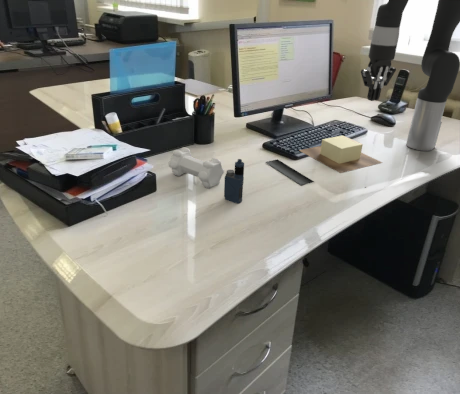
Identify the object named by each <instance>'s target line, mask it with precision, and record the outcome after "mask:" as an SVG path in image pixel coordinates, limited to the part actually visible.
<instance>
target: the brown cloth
mask: <svg viewBox="0 0 460 394" xmlns="http://www.w3.org/2000/svg"><path fill="white" fill-rule="evenodd" d="M298 151H299V152H301V153H303V154H304V155H306V156H309V157H310V158H312V159H314V160H316V161H317V162H320V163H321V164H323V165H325V166H326V167H328V168H330V169H332V170H334V171H336V172H337V173H339V174H344V173H347V172H350V171H354V170H359V169H363V168H367V167H368V168H369V167H372V166H375V165H376V166H377V165H379V164H383V162H382V161H380V160H378V159H377V158H374V157H372V156H369V155H368V154H365V153H363V152H361V156H360V159H357V160H353V161H349V162H344V163H340V164H339V163H337V162H335V161H333V160H331V159H329V158H327V157H325V156H323V155H321V154H320V151H321V145H319V146H314V147H307V148H304V149H299V150H298Z"/></svg>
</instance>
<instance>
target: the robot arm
mask: <svg viewBox="0 0 460 394" xmlns="http://www.w3.org/2000/svg"><path fill="white" fill-rule="evenodd" d="M408 2H409V0H388V1H387V3H383V4H381V5H379V6H378V9H377V13H376V18H375V23H374V27H373V28H374V29H373V31H372V35H371V40H370V47H369V52H368V58H369V63H368V65H367V67H366V68H365V69H363V68H362V69H361V70H360V74H361V78H362V82H363V84H364V85H363V86H365V87H367V88H368V91H367V96H366V97H367V100H368V101H371V102H373V101H379V100H380V97H381V92H382V89H383V88H384V87H387V86H388V85H389V83H390V81H391V80H392V78H393V76H394V74H395V73H396V71H397V69H396V67H393V66H392V61H393V60H394V59H395V58H396V57H395V56H396V51H397V47H398V42H399V38H400V37H399V36H400V26H401V23H402V20H403V12H404V11H405V8H406V6H407V4H408ZM459 23H460V0H438V2H437V7H436V12H435V15H434V19H433V23H432V28H431V32H430V35H429V38H428V41H427V44H426V47H425V50H424V53H423V56H422V58H421V59H422V60H421V70H422V73H423V74H424V75H425V76H428V77H429V78H428V81H427V83H426V86H425V87H422V88H420V89H419V90H418V94H417V97H416V101H415V106H414V110H413V114H412V118H411V123H410V126H409V131H408V133H407V139H406V143H405V144H406V146H407V147H408V148H411V149H413V150H417V151H422V152H423V151H424V152H427V151H428V152H429V151H433V149H434V148H435V147H436V143H437V140H438V137H439V133H440V131H441V127H442V126H441V125H442V123H443V122H442V118H443V115H444V110H445V107H446V104H447V100H448V97H449V96H450V95H451V93H452V91H453V90H454V86H455V83H456V79H457V77H458V74H459V70H460V58H459V56H458V55H457V54H456V53H455V52H453V51H450V50H449V49H450V45H451V41H452V37H453V35H454V32H455V30H456V28H457V27H458V25H459Z"/></svg>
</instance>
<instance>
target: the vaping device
mask: <svg viewBox="0 0 460 394" xmlns="http://www.w3.org/2000/svg"><path fill="white" fill-rule="evenodd" d="M244 171H245V162H244V161H243V160H242V159H241V158H238V159H237V161H235V162H234V170H233V169H227V170H226V173H225V176H224V186H223V187H224V189H223V190H224V192H223V197H224V200H225V201H227V202H230V203H233V204H241V203H242V201H243V193H244V192H243V191H244V190H243V189H244V188H243V187H244V174H245V173H244Z"/></svg>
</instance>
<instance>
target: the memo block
mask: <svg viewBox="0 0 460 394" xmlns="http://www.w3.org/2000/svg"><path fill="white" fill-rule="evenodd" d="M363 145H364V144H363V143H360V142H358V141H356V140H354V139H352V138H350V137H348V136H345V135H337V136H334V137H328V138H327V137H326V138H323V139H321V145H320V146H321V151H320V154H321V155H323V156H325V157H327V158H329V159H331V160H333V161H335V162H337V163H339V164H340V163H344V162H349V161H353V160H357V159H360V156H361V153H362V150H363Z"/></svg>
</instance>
